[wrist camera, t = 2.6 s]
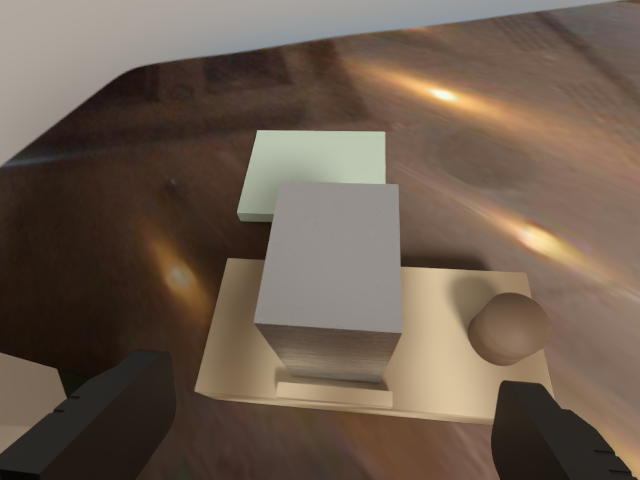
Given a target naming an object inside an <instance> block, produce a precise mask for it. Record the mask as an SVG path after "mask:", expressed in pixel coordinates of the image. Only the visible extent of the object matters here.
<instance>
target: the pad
mask: <svg viewBox="0 0 640 480" xmlns="http://www.w3.org/2000/svg"><path fill="white" fill-rule="evenodd" d="M280 181H287V182H326V183H364V184H385V132H356V131H264V130H258V131H257V135H256V139H255V143H254V147H253V151H252V155H251V159H250V163H249V167H248V170H247V174H246V178H245V182H244V186H243V190H242V194H241V198H240V202H239V206H238V210H237V215H238V217H239V219H240V221H253V222H273V217H274V212H275V206H276V201H277V196H278V190H279V185H280Z"/></svg>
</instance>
